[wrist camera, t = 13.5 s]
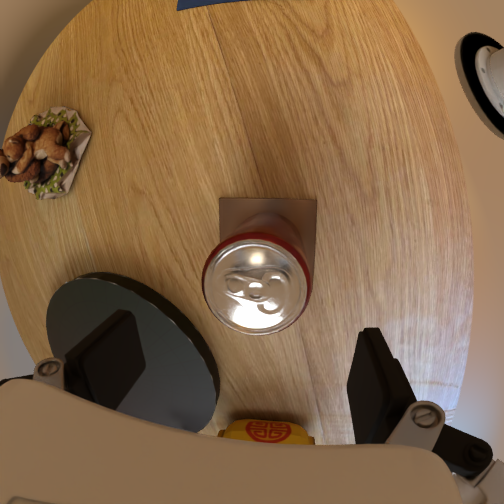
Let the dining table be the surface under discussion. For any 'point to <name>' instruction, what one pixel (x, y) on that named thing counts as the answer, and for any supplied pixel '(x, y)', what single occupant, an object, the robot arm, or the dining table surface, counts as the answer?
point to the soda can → (258, 276)
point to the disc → (153, 345)
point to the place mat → (199, 3)
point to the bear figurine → (46, 152)
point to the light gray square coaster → (292, 209)
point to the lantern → (267, 432)
